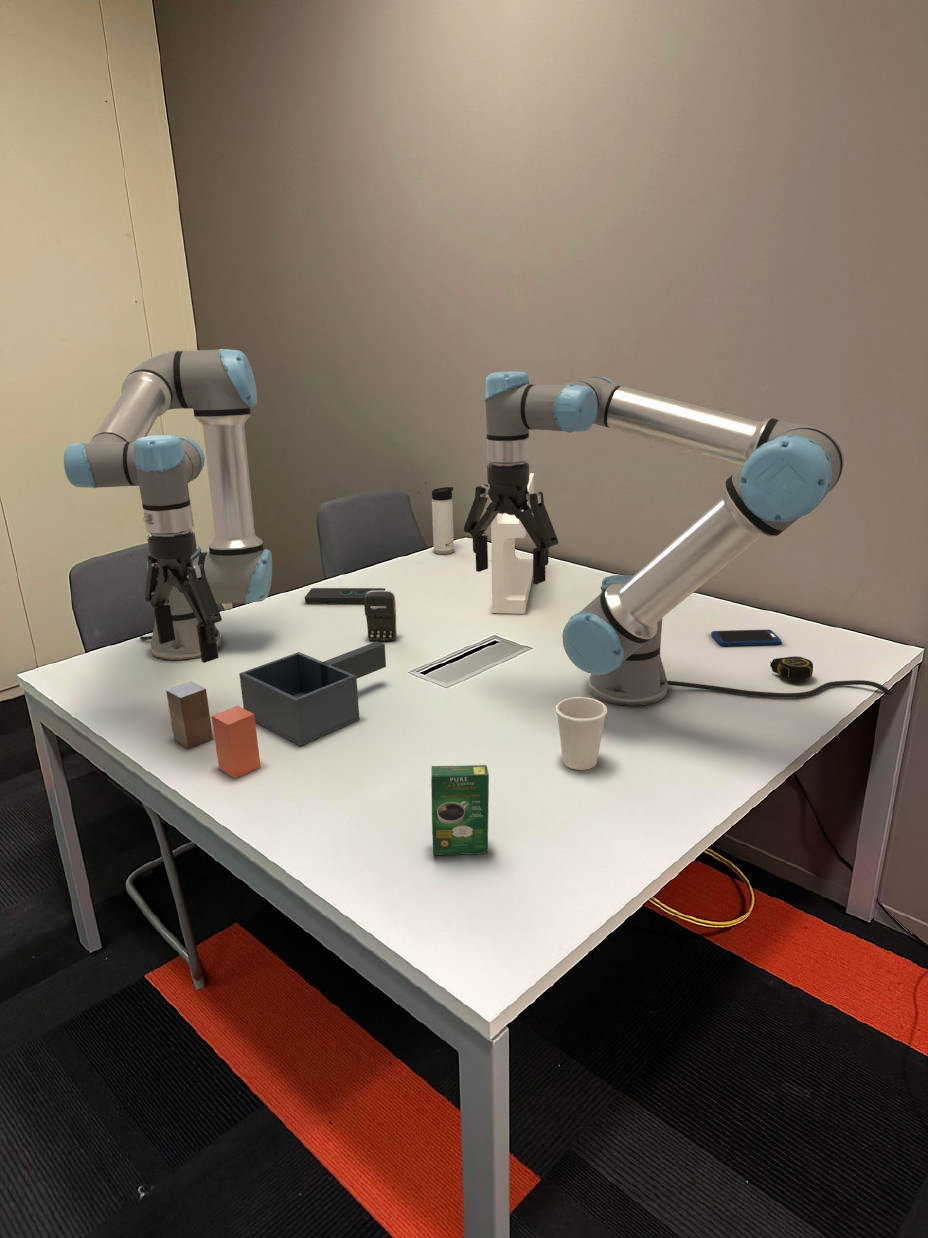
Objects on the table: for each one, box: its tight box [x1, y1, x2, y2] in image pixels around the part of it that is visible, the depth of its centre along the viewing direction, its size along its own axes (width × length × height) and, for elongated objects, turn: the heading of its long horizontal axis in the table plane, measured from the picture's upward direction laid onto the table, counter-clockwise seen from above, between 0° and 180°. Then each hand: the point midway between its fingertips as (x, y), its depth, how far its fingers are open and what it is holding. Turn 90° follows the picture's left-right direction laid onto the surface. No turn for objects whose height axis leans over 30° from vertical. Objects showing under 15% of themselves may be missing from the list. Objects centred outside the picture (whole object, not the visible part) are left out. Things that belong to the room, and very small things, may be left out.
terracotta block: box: [211, 705, 262, 780], centre depth 142 cm, size 5×5×10 cm
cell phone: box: [710, 629, 782, 647], centre depth 191 cm, size 7×14×1 cm, turn 91°
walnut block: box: [165, 681, 214, 750], centre depth 152 cm, size 5×5×10 cm
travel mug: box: [431, 486, 455, 555], centre depth 260 cm, size 6×7×20 cm
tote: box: [239, 640, 387, 747], centre depth 164 cm, size 27×18×9 cm, turn 137°
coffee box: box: [430, 764, 490, 856], centre depth 119 cm, size 8×3×13 cm, turn 92°
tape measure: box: [769, 655, 814, 682], centre depth 171 cm, size 7×7×4 cm
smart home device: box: [304, 587, 386, 605], centre depth 224 cm, size 8×2×20 cm
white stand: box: [490, 472, 535, 615], centre depth 222 cm, size 35×8×28 cm, turn 172°
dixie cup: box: [555, 696, 608, 771], centre depth 141 cm, size 8×8×10 cm
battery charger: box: [363, 590, 398, 642], centre depth 195 cm, size 7×4×11 cm, turn 86°
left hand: (188, 650), depth 148 cm, fingers open, 13 cm apart
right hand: (510, 576), depth 159 cm, fingers open, 13 cm apart
